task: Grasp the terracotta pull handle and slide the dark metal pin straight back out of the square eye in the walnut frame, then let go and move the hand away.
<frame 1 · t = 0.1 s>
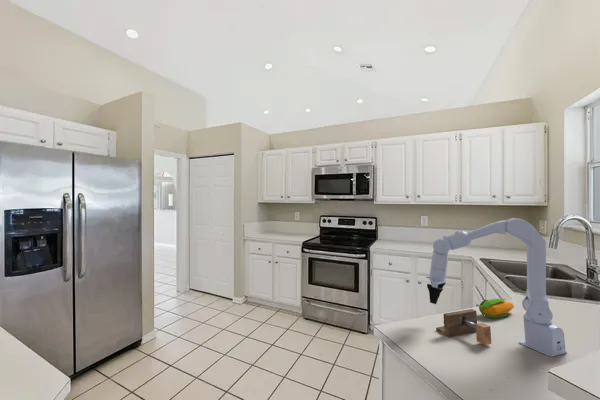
hand: (434, 300, 105), 11 cm above the counter, tool pointing down, fingers open, 7 cm apart
corn: (497, 315, 114), on the counter
hook pin: (470, 327, 94), point 4 cm above the counter, slide at 0.0 cm
eye frame: (461, 333, 98), on the counter
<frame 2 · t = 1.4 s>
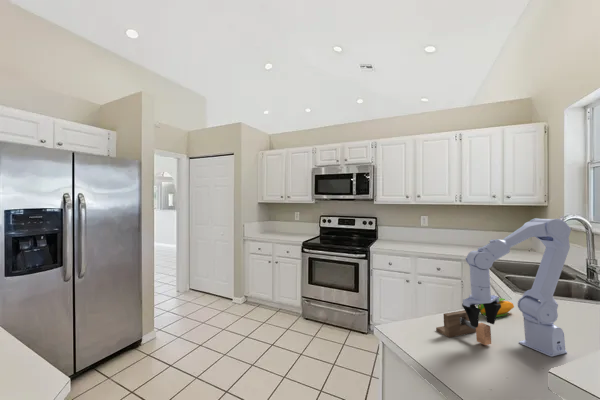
hand: (482, 324, 89), 7 cm above the counter, tool pointing down, fingers open, 7 cm apart
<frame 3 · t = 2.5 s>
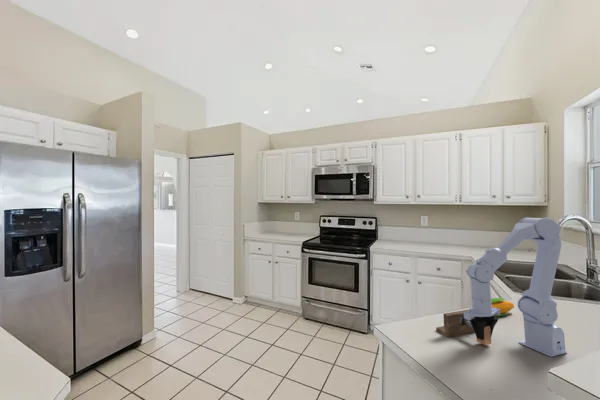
hand: (483, 337, 89), 2 cm above the counter, tool pointing down, fingers closed on hook pin, 3 cm apart
hook pin: (470, 327, 94), point 4 cm above the counter, slide at 0.0 cm, touching gripper
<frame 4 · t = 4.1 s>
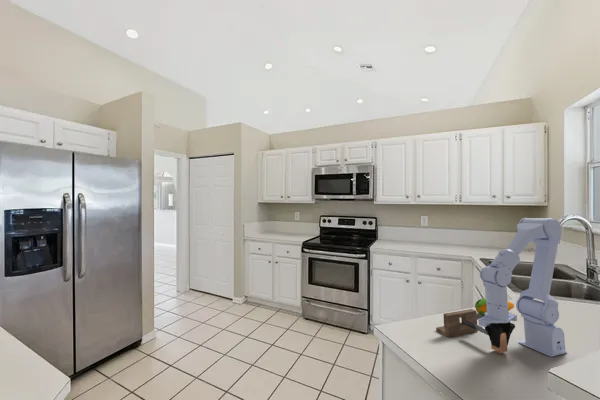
hand: (499, 345, 84), 2 cm above the counter, tool pointing down, fingers closed on hook pin, 3 cm apart
hook pin: (484, 334, 89), point 4 cm above the counter, slide at 5.2 cm, touching gripper
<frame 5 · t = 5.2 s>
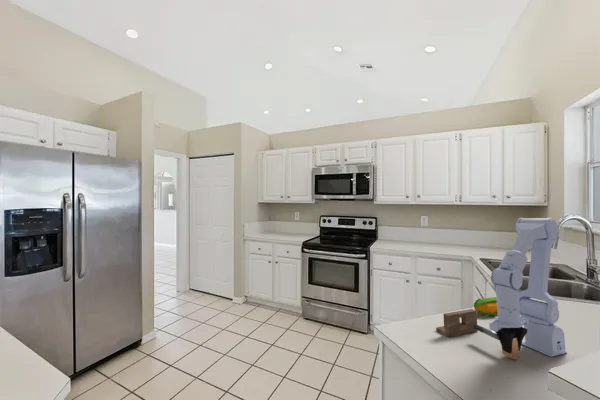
hand: (511, 350, 80), 2 cm above the counter, tool pointing down, fingers closed on hook pin, 3 cm apart
hook pin: (494, 338, 86), point 4 cm above the counter, slide at 8.7 cm, touching gripper
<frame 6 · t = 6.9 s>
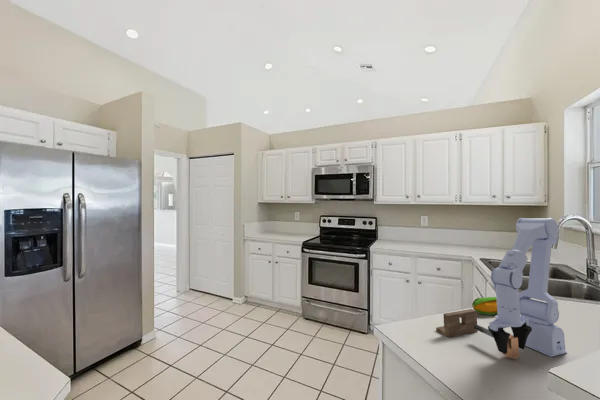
hand: (511, 350, 81), 3 cm above the counter, tool pointing down, fingers open, 7 cm apart
hook pin: (494, 338, 86), point 4 cm above the counter, slide at 8.7 cm
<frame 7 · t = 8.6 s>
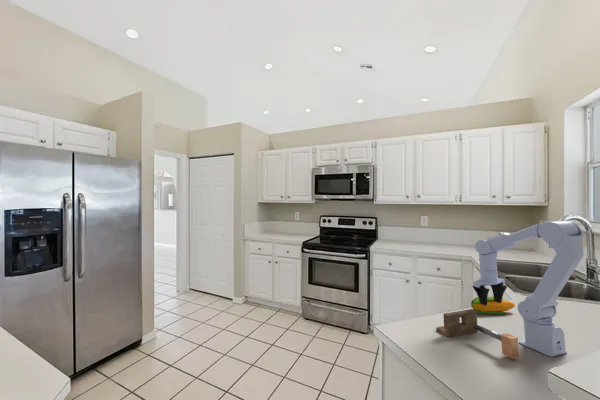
hand: (490, 303, 103), 9 cm above the counter, tool pointing down, fingers open, 7 cm apart
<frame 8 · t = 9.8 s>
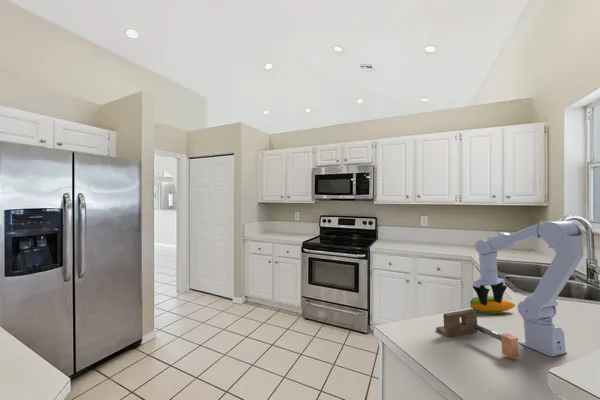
hand: (490, 303, 103), 9 cm above the counter, tool pointing down, fingers open, 7 cm apart
at the end: hook pin slide at 8.7 cm; the gripper is holding nothing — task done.
